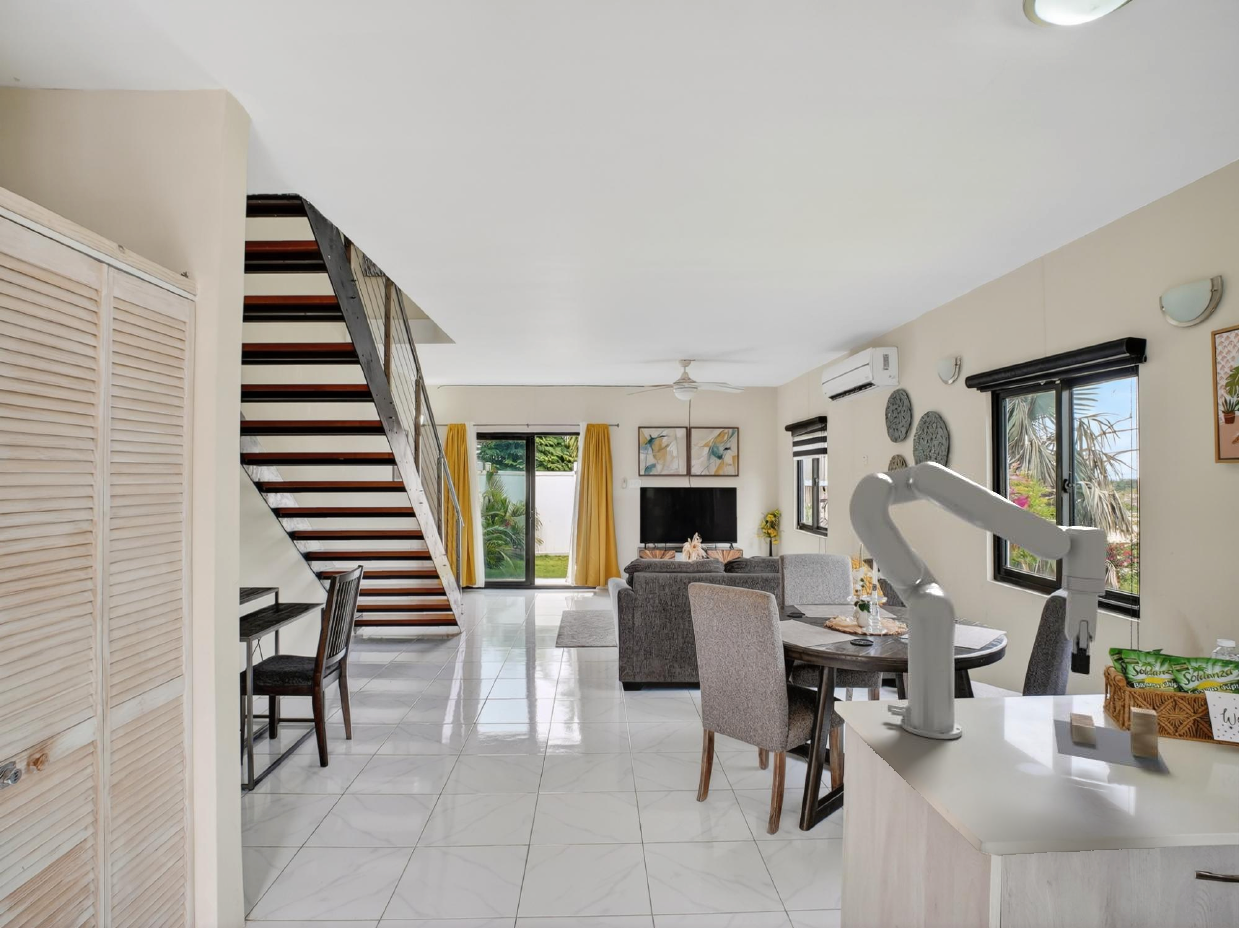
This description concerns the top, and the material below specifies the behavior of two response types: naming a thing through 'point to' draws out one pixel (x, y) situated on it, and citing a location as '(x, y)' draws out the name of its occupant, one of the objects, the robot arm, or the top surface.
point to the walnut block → (1082, 728)
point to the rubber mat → (1104, 747)
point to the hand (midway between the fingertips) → (1079, 672)
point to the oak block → (1144, 733)
